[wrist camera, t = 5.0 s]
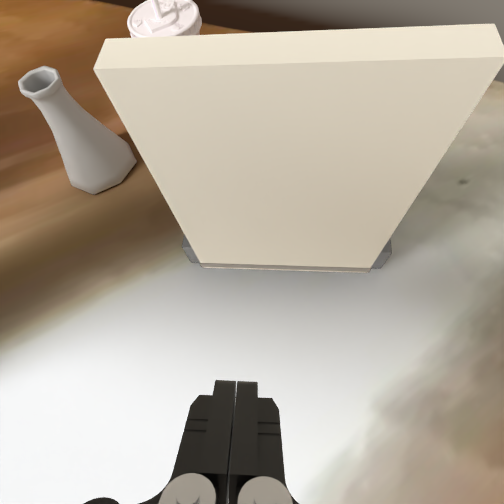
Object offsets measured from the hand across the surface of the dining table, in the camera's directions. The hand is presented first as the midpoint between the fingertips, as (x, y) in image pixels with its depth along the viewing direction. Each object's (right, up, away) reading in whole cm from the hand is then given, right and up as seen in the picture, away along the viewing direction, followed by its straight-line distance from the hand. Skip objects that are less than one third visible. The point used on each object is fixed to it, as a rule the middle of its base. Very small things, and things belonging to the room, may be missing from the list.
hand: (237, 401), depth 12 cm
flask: (-15, +14, +23) cm, 31 cm away
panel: (+3, +5, +13) cm, 14 cm away
